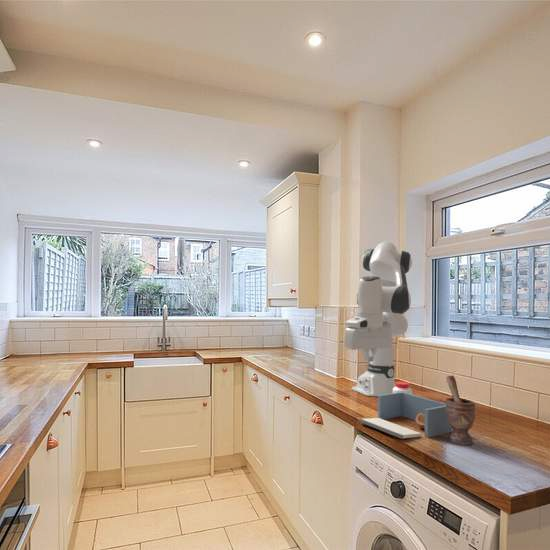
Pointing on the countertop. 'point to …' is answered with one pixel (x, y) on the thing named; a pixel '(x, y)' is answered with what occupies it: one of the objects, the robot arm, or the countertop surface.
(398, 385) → the pill bottle
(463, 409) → the mortar and pestle
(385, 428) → the white rectangular panel
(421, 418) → the fruit slice
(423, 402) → the crate
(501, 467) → the countertop surface
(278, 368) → the countertop surface
